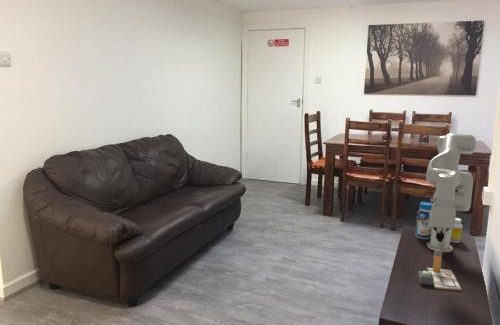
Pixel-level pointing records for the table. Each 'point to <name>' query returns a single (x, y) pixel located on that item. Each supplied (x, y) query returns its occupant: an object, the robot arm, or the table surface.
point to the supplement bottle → (456, 231)
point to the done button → (426, 273)
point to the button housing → (425, 279)
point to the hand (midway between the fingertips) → (439, 240)
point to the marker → (437, 260)
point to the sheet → (445, 280)
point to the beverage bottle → (423, 221)
